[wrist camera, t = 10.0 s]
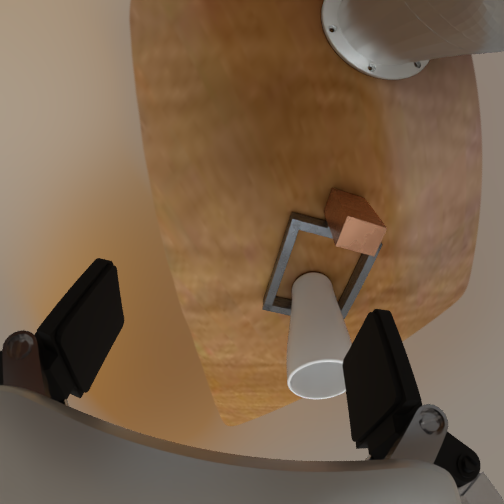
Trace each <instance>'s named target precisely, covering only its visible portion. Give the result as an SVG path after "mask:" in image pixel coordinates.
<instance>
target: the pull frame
mask: <svg viewBox="0 0 504 504" xmlns="http://www.w3.org/2000/svg"><path fill="white" fill-rule="evenodd" d="M324 214H325V217H326V220H325V221H323V220H320V219H316V218H312V217H309V216H305V215H301V214H298V213H294V212H292V213H291V216H290V219H289V222H288V226H287V229H286V232H285V235H284V238H283V241H282V244H281V247H280V251H279V254H278V257H277V260H276V263H275V266H274V269H273V272H272V275H271V278H270V281H269V284H268V287H267V290H266V293H265V296H264V299H263V309H262V310H267V311H271V312H276V313H281V314H285V315H291V304H292V300H289V299H284V298H280V297H275V296H276V293H277V290H278V288H279V285H280V282H281V279H282V276H283V274H284V271H285V268H286V265H287V262H288V259H289V256H290V254H291V251H292V248H293V245H294V242H295V239H296V236H297V233H298V230H303V231H306V232H310V233H314V234H318V235H321V236H325V237H329V238H332V239H333V240H334V242H335V245H336V246H338V247H341V248H345V249H349V250H352V251H356V252H360V253H362V255H361V257H360V259H359V261H358V264H357V266H356V268H355V270H354V272H353V274H352V276H351V278H350V280H349V282H348V284H347V286H346V289H345V291H344V293H343V295H342V296H341V298H340V300H339V302H338V305H339V308H340V310H341V313H342V316H343V319H345V317H346V315H347V313H348V311H349V310H350V308H351V306H352V304H353V302H354V300H355V298H356V297H357V295H358V293H359V291H360V289H361V287H362V285H363V283H364V281H365V279H366V277H367V275H368V273H369V271H370V269H371V267H372V265H373V263H374V261H375V259H376V257H377V255H378V253H379V251H380V249H381V247H382V243H381V241H382V239H383V236H384V234H385V232H386V230H387V228H386V226H385V225H384V223H383V222H382V221H381V219H380V218H379V217H378V215H377V214H376V213H375V211H374V210H373V209H372V207H371V206H370V205H369V203H368V202H367V201H366V199H365V198H363V197H360V196H356V195H353V194H350V193H347V192H344V191H341V190H338V189H334V188H332V190H331V193H330V196H329V199H328V202H327V204H326V207H325V210H324Z"/></svg>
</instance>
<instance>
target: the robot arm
mask: <svg viewBox="0 0 504 504" xmlns="http://www.w3.org/2000/svg"><path fill="white" fill-rule="evenodd" d="M321 21H322V26H323V30H324V33H325V35H326V38H327V40H328V41H329V43H330V45H331V46H332V48H333V49H334V50H335V52H336V53H337V54H338V55H339V56H340V57H341V58H342V59H343V60H344V61H345V62H346V63H348V64H349V65H350V66H352V67H353V68H355V69H356V70H358V71H360V72H362V73H364V74H366V75H369V76H371V77H375V78H379V79H386V80H398V79H404V78H409V77H411V76H413V75H415V74H417V73H419V72H420V71H421V70H423V69H424V67H425V66H426V65H427V64H428V63H429V61H430V59H436V58H443V57H451V56H459V55H469V54H481V53H492V52H501V51H504V0H324V2H323V6H322V9H321ZM329 29H333V30H334V32H330V31H329ZM414 63H415V64H416V67H415V65H414ZM368 66H370V67H371V71H369V70H368ZM123 324H124V315H123V310H122V303H121V297H120V290H119V282H118V275H117V268H116V266H113V263H112V261H109V260H105V259H100V258H98V259H96V260H95V261H94V262H93V263H92V264H91V265H90V266H89V268H88V269H87V270H86V271H85V272H84V273H83V274H82V275H81V277H80V278H79V279H78V280H77V281H76V282H75V283H74V285H73V286H72V287H71V288H70V289H69V290H68V292H67V293H66V294H65V295H64V297H63V298H62V299H61V300H60V301H59V302H58V304H57V305H56V306H55V308H54V309H53V310H52V311H51V313H50V314H49V315H48V316H47V317H46V319H45V320H44V321H43V323H42V324H41V325H40V327H39V328H38V329H37V332H36V333H35V335H34V334H32V333H31V332H29V331H24V330H23V331H17V332H14V333H13V334H11V335H10V336H9V337H8V338H7V339H6V340H5V342H4V344H3V349H2V351H0V504H504V501H503V499H502V497H501V496H500V494H499V493H498V492H497V490H496V489H495V487H494V486H493V485H492V483H491V482H490V480H489V479H488V478H487V476H486V475H485V474H484V472H482V473H479V471H480V460H479V457H478V456H477V454H476V453H475V452H474V451H473V450H471V449H470V448H469V447H467V446H466V445H465V444H463V443H462V442H460V441H459V440H458V439H456V438H455V437H454V436H452V435H451V434H450V433H448V432H447V429H448V420H447V417H446V415H445V414H444V412H443V411H442V410H441V409H440V408H439V407H437V406H435V405H430V404H426V405H423V406H422V402H421V397H420V394H419V391H418V387H417V384H416V381H415V378H414V375H413V372H412V369H411V366H410V363H409V360H408V357H407V354H406V351H405V348H404V346H403V343H402V340H401V337H400V335H399V332H398V330H397V327H396V324H395V322H394V319H393V317H392V314H391V312H390V311H388V310H380V309H375V310H374V311H373V312H370V313H369V314H368V315H367V317H366V319H365V321H364V323H363V325H362V327H361V329H360V330H359V332H358V334H357V336H356V338H355V340H354V342H353V343H352V345H351V347H350V349H349V351H348V352H347V354H346V356H345V358H344V360H343V365H342V367H343V374H344V381H345V388H346V394H347V402H348V410H349V418H350V426H351V436H352V440H353V441H354V442H356V448H358V449H359V448H368V450H369V455H368V457H367V458H366V460H365V461H295V460H280V459H268V458H258V457H250V456H242V455H235V454H228V453H222V452H217V451H211V450H206V449H201V448H196V447H191V446H187V445H182V444H178V443H174V442H170V441H166V440H163V439H159V438H155V437H152V436H148V435H144V434H141V433H138V432H135V431H132V430H129V429H126V428H123V427H120V426H117V425H114V424H112V423H109V422H106V421H103V420H101V419H98V418H96V417H93V416H91V415H88V414H85V413H83V412H81V411H78V410H76V409H73V408H71V407H69V405H68V401H67V398H68V396H69V394H72V395H74V396H76V397H79V398H81V397H82V395H83V393H84V392H85V393H86V392H88V391H89V389H90V387H91V385H92V383H93V381H94V379H95V377H96V375H97V373H98V371H99V370H100V368H101V366H102V364H103V362H104V360H105V358H106V356H107V354H108V352H109V351H110V349H111V347H112V345H113V343H114V342H115V340H116V338H117V336H118V334H119V332H120V331H121V329H122V327H123Z"/></svg>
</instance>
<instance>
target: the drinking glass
mask: <svg viewBox="0 0 504 504" xmlns="http://www.w3.org/2000/svg"><path fill="white" fill-rule="evenodd" d="M351 345H352V342H351V339H350V336H349V333H348V330H347V327H346V324H345V321H344V319H343V316H342V313H341V310H340V308H339V305H338V302H337V299H336V296H335V294H334V290H333V286H332V283H331V281H330V280H329V278H328V277H326V276H325V275H323V274H321V273H316V272H311V273H306V274H304V275H302V276H300V277H299V278H298V279H297V280H296V281H295V282H294V284H293V287H292V304H291V315H290V325H289V334H288V343H287V384H288V387H289V389H290V390H291V391H292V392H293V393H294V394H296V395H298V396H300V397H303V398H308V399H326V398H330V397H334V396H337V395H340V394H342V393H344V392H345V391H346V388H345V381H344V374H343V367H342V365H343V360H344V358H345V356H346V354H347V352H348V351H349V349H350V347H351Z"/></svg>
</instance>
